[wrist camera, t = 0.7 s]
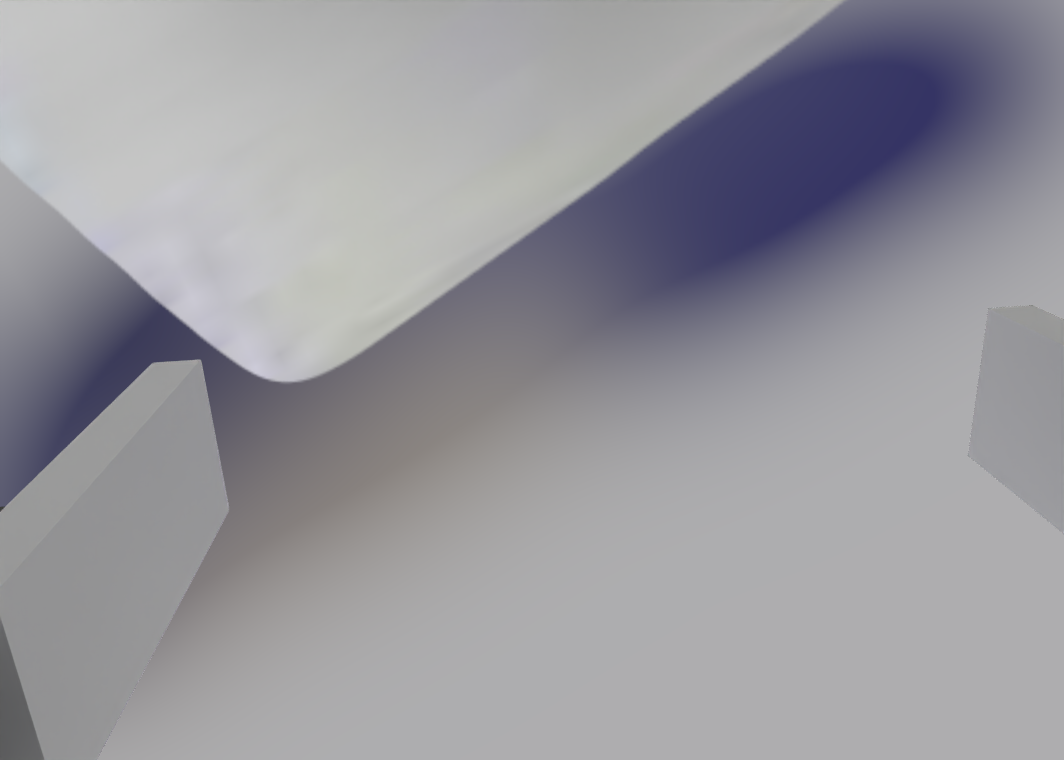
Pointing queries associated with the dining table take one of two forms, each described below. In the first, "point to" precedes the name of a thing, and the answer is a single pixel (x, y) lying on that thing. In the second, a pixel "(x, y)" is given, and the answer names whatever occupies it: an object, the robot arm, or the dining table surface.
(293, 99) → the dining table surface
